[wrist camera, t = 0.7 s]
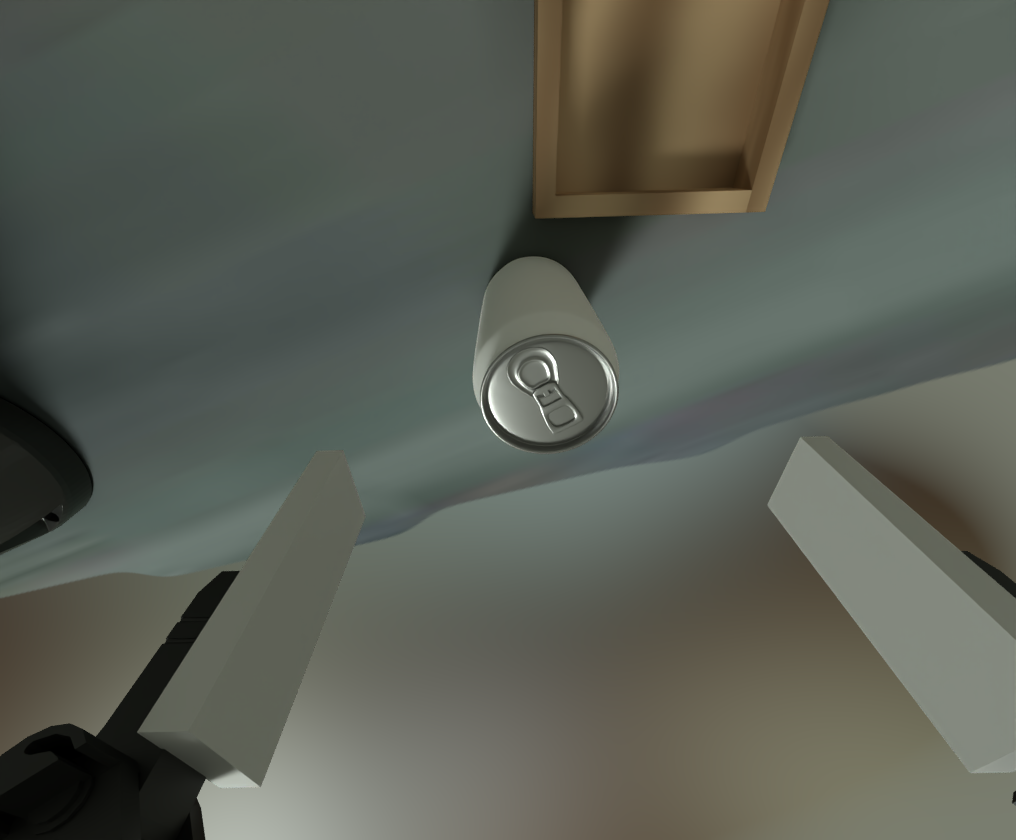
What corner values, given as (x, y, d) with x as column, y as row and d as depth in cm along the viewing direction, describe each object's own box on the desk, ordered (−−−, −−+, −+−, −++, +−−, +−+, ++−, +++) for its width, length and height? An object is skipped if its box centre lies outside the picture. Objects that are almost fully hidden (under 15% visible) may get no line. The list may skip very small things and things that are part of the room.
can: (552, 232, 23) (587, 288, 13) (596, 321, 26) (653, 422, 16) (463, 290, 25) (436, 377, 15) (514, 367, 28) (520, 482, 18)
